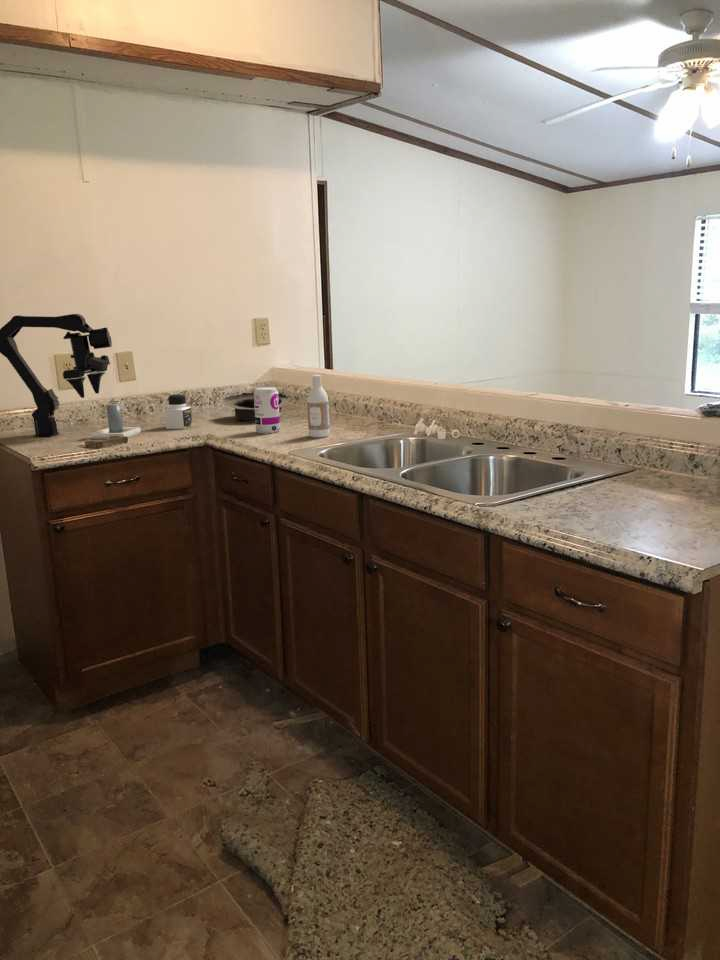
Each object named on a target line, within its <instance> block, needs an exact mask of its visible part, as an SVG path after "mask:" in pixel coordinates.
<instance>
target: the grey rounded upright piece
mask: <svg viewBox="0 0 720 960" xmlns="http://www.w3.org/2000/svg"><path fill="white" fill-rule="evenodd" d="M121 406H122V405H121V403H112V404H111V403H110V404H106V413H107V414H106V416H107V425H108V428H109V432H108V433H123V432H125V431H123V417H122V408H121Z"/></svg>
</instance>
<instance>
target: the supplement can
mask: <svg viewBox="0 0 720 960" xmlns="http://www.w3.org/2000/svg"><path fill="white" fill-rule="evenodd" d="M253 392H254V406H255V421H254V422H255V431H256V432H257V433H258V434H262V433H264V434H265V435H266V434H267V435H269V434H268V433H270V434H275V433H276V434H277V433H279V431H280V430H281V424H280V423H281V422H280V413H279V399H278V393H279V391H278V389H277V387H273V386H265V387H264V386H262V387H261V386H260V387H256V388H255V389H254V391H253Z"/></svg>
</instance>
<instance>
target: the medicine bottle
mask: <svg viewBox="0 0 720 960" xmlns="http://www.w3.org/2000/svg"><path fill="white" fill-rule="evenodd" d="M167 397H168V398H167V399H168V407H169V408H166V409H164V418H165V428H166V430H185V428H186V429H188V428H190V426H191V427H193V418H192V407H191V406H187V400H186V395H185V394H184V393H183V394H181V393H179V394H178V393H177V394H176V393H175V394H171V395H168V396H167Z"/></svg>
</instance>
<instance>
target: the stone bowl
mask: <svg viewBox="0 0 720 960" xmlns="http://www.w3.org/2000/svg"><path fill="white" fill-rule="evenodd" d="M254 392H255V391H253V392H242V393H241V394H235V395H230V396H226V397H225V398H223V402H224V405H225V406H227V407H230V408H232V409H234V415H235V418H236V420H237V419H238V421H245V422H248V421H250V422H249V423H253V421H254V422H255V406H254ZM278 399H279V414H280V412H282V407H285V406H286V405H289V404H290V400H289V399H288V396H287V395H285V394H283V393H281V392H278Z"/></svg>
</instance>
